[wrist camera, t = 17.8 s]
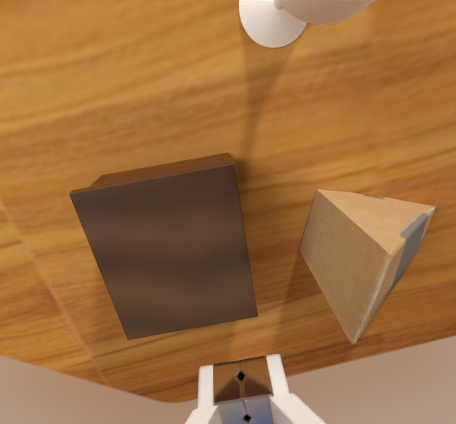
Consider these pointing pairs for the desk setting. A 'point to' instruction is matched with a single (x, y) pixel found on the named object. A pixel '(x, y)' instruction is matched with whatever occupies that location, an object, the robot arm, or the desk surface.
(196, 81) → the desk surface
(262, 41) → the champagne flute
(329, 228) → the sandwich container
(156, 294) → the chest lid
